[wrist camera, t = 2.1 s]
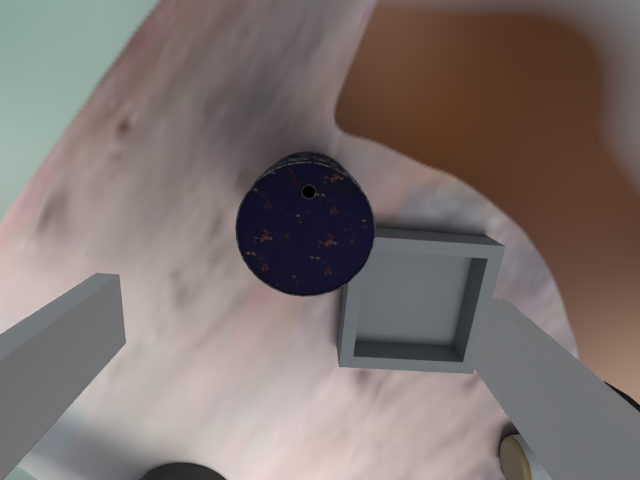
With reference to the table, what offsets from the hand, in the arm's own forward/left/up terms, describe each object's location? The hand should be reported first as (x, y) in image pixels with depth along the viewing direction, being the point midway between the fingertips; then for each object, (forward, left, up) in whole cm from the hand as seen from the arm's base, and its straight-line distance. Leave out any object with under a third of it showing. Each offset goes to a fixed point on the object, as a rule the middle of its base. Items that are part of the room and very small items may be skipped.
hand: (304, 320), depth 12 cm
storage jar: (0, 0, -27) cm, 27 cm away
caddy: (+13, -11, -26) cm, 31 cm away
